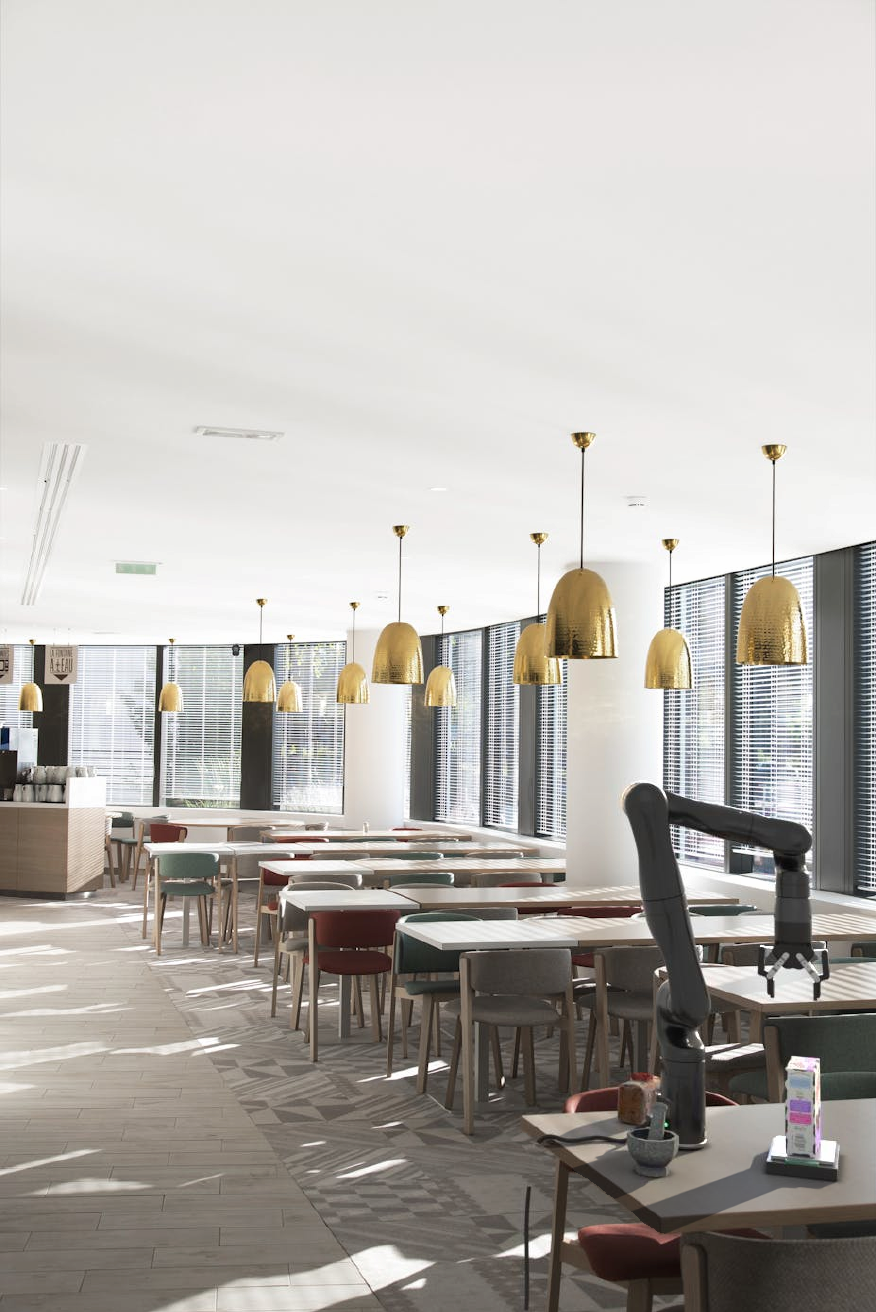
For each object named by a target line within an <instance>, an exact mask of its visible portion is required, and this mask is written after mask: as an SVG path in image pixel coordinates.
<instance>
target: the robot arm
mask: <svg viewBox="0 0 876 1312" xmlns="http://www.w3.org/2000/svg"><path fill="white" fill-rule="evenodd" d="M621 808H622V811H623V812H624V814H625V816H626V817H627V819H628V822H629V826H630V828H631V829H630V830H631V832H632V835H633V839H634V842H635V847H636V851H637V858H638V859H637V860H638V881H639V883H638V885H639V892H640V898H641V904H642V908H643V913H644V914H643V915H644V919H645V921H646V924H647V927H648V929H649V932H650V934H651V936H652V938H653V941H654V943H655V944H656V946H657V948H658V950H659V952H660V955H661V957H662V959H663V962H664V966H665V970H666V975H667V979H666V980H664V981H663V982H662V983H661V984H660V986H659V988H658V990H657V992H656V997H655V1027H656V1029H655V1031H656V1039H657V1043H658V1047H659V1052H660V1053H659V1054H660V1055H659V1056H660V1057H659V1058H660V1062H659V1068H660V1069H659V1075H660V1076H659V1078H660V1094H657V1096H656V1102H660V1103H663V1104H666V1105H667V1107H668V1108H667V1111H666V1113H665V1126H664V1130H667V1131H671V1132H674V1133H675V1134H677V1135H678V1136H679V1146H678V1150H699V1149H703V1148H705V1147H707V1138H706V1137H707V1136H708V1129H707V1125H706V1121H707V1119H706V1117H707V1116H706V1115H707V1113H706V1111H707V1110H706V1106H707V1105H706V1097H707V1096H706V1095H707V1094H706V1046H705V1045H704V1043H703V1041H702V1039H701V1037H700V1034H699V1029H698V1028H700V1027H702V1026H703V1025H705V1023H706V1022H707V1021H708V1019H709V1017H710V1014H711V1009H712V1001H711V996H710V992H709V989H708V986H707V983H706V980H705V977H704V973H703V970H702V967H701V966H702V965H701V963H700V960H699V955H698V951H697V945H696V939H695V935H694V930H693V925H692V920H691V915H690V909H689V908H690V907H689V903H688V899H687V893H686V889H685V885H684V881H683V877H682V873H681V870H680V867H679V863H678V859H677V857H676V854H675V851H674V846H673V842H672V841H673V840H672V834H671V826H670V825H672V826H677V827H683V828H687V829H690V830H693V831H697V832H699V833H703V834H706V835H708V836H711V837H714V838H718V839H721V840H724V841H728V842H732V843H736V844H740V845H744V846H747V847H756V848H763V849H766V850H769V851H772V857H773V863H774V864H773V865H774V872H775V880H774V896H775V897H774V905H773V927H774V929H773V932H774V933H773V934H774V935H773V936H774V940H773V941H774V944H773V946H765V945H762V944H761V945H760V946H759V947H758V956H757V957H758V959H757V975H758V976H760V977H763V978H765V979H766V993H767V996H769V997H770V999H775V996H776V989H775V986H776V985H775V984H776V983H775V981H776V980H775V978H774V976H775V975H776V974H777V972H778V971H779V970H780V969H781V967H782V968H784V969H785V970H792V969H794V970H799V971H801V970H803V969H804V970H805V971H806V973H808V975H810V977H811V978H812V980H813V981H812V991H813V992H812V994H813V996H812V999H813V1001H814V1002H818V999H820V998H821V996H822V982H823V981H827V980H829V979H830V977H831V973H830V960H829V959H830V958H829V950H828V949H827V948H823V949H814V946H813V913H812V911H813V909H812V903H811V902H812V901H811V877H810V873H809V872H808V869H807V862H806V854H807V853H808V852H809V851H810V850H811V849H812V847H813V843H814V838H813V834H812V832H811V831H810V830H809V828H808V827H807V826H806V825H804V824H802V823H800V822H795V821H791V820H786V819H781V818H776V817H770V816H765V815H763V814H760V813H756V812H754V811H749V810H745V809H742V808H737V807H732V806H728V805H723V804H717V803H713V802H708V801H702V800H697V799H693V798H689V797H686V796H683V795H680V794H677V793H674V792H672V791H669V790H667V789H664V788H662V787H660V786H659V785H657V784H656V783H654V782H652V781H648V780H638V781H635V782H633V783H631V784H629V785H628V786H627V787H626V788H625V789H624V791H623V792H622V796H621ZM771 953H772V955H773V956H774V958H775V959H776V962H775V963H774V965H773V966H772V967H771V969H769V970H767V969H766V958H768V957H769V956H770V954H771ZM815 956H816V957H817V959H818V960H819V961H821V966H822V973H818V971H817V970H816V969H815V967H814V966H813V964H812V963H811V960H812V959H813V958H814V957H815ZM652 1116H653V1114H651V1115H646V1122H644V1123H643V1124H641V1125H637V1126H635V1127H634V1128H633V1129H640V1128H650V1125H651V1120H652ZM546 1140H555V1141H558V1142H561V1143H565V1144H577V1143H583V1142H588V1141H603V1142H604V1141H605V1142H609V1143H614V1144H615V1143H616V1144H627V1137H625V1138H615V1137H611V1136H607V1135H601V1134H593V1135H592V1134H591V1135H585V1136H581V1137H573V1138H572V1137H565V1136H564V1137H563V1136H560V1135H557V1134H553V1133H547V1134H543V1135H542V1136H540V1137H539V1138H538V1139H537V1140H536V1141H535V1142H536V1143H543V1142H544V1141H546ZM531 1194H532V1186H530V1185H529V1186H528V1185H527V1186H526V1195H525V1203H524V1224H523V1225H524V1226H523V1248H524V1251H523V1253H524V1255H523V1256H524V1258H523V1259H524V1303H523V1310H524V1311H529V1307H530V1306H529V1304H530V1246H529V1245H530V1244H529V1243H530V1241H529V1240H530V1239H529V1238H530V1236H529V1235H530V1233H529V1229H530V1228H529V1226H530V1225H529V1223H530V1204H531Z"/></svg>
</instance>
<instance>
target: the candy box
mask: <svg viewBox="0 0 876 1312" xmlns="http://www.w3.org/2000/svg"><path fill="white" fill-rule="evenodd" d="M820 1062H821V1061H820V1058H819V1057H818V1058H817V1057H807V1056H796V1055H791V1057H790V1060H789V1061H788V1063H787V1065H786V1067H785V1069H784V1070H785V1071H784V1128H785V1129H784V1131H785V1132H784V1133H785V1134H784V1135H785V1136H784V1137H785V1149H786V1154H790V1155H796V1156H804V1157H811V1158H816V1155H817V1152H818V1148H819V1145H820V1142H821V1140H822V1116H821V1115H822V1114H821V1108H822V1107H821V1064H820Z"/></svg>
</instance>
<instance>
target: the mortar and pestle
mask: <svg viewBox="0 0 876 1312" xmlns="http://www.w3.org/2000/svg"><path fill="white" fill-rule="evenodd" d="M653 1108H654V1111H653V1116H652V1120H651V1125H650V1128H649V1127H646V1128H640V1129H634V1128H632V1129H630V1130H629V1131H627V1132H626V1138H627V1143H626V1146H627V1150H628V1152H629V1154H630V1156H631V1158H632V1159H634V1161H635V1162H636V1165H635V1172H637V1173H638V1174H639V1175H641V1176H645V1177H651V1178H660V1177H661V1178H662V1177H666V1176H668V1175H669V1174H670V1167H669V1165H670V1163H671V1162H673V1161H674V1159H675V1157H676V1156H677V1154H678V1152H679V1149H678V1146H679V1136H678V1135H677V1134H675V1133H674V1132H671V1131H667V1130H664V1126H665V1113H666V1111H667V1108H668V1107H667V1105H666V1104H663V1103H660V1102H656V1103H654V1104H653Z"/></svg>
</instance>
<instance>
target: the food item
mask: <svg viewBox="0 0 876 1312" xmlns="http://www.w3.org/2000/svg"><path fill="white" fill-rule="evenodd" d="M617 1093H618V1094H617V1121H619V1122H622V1123H624V1124H625V1123H627V1124H631V1125H632V1124H633V1125H637V1126H639V1125H641V1124H644V1123H646V1115H651V1114H653V1111H654V1108H653V1104H654V1103H656V1096H657V1094H660V1076H656V1075H654V1073H652V1074H651V1073H650V1072H649V1073H648V1072H645V1073H643V1072H633V1073H632V1074H630V1078H629V1080H628V1081H626V1082H622V1083H620V1084H619V1085H618V1090H617Z"/></svg>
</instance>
